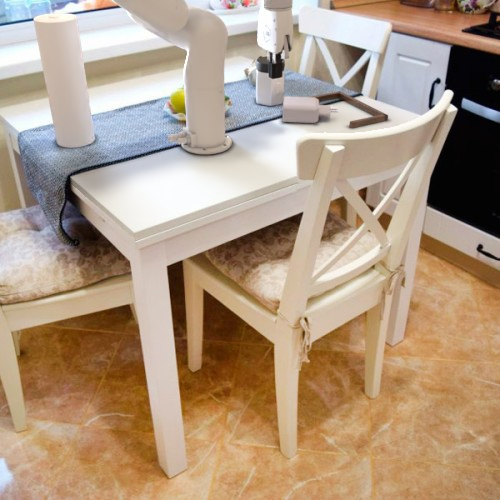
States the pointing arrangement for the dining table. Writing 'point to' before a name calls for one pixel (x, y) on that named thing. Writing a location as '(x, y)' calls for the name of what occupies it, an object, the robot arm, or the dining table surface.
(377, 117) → the brown bent bar
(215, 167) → the dining table surface
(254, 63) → the ceramic sculpture
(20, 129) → the dining table surface
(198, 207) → the dining table surface
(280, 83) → the jar
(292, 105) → the charger
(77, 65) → the cylinder container
